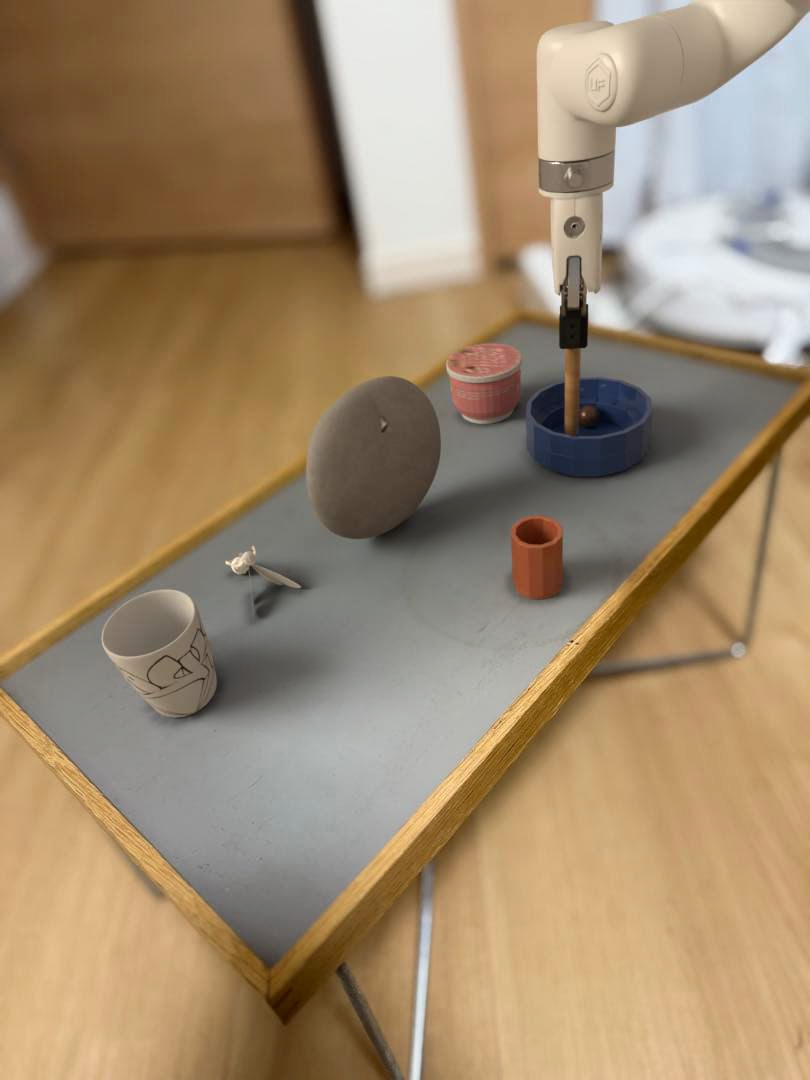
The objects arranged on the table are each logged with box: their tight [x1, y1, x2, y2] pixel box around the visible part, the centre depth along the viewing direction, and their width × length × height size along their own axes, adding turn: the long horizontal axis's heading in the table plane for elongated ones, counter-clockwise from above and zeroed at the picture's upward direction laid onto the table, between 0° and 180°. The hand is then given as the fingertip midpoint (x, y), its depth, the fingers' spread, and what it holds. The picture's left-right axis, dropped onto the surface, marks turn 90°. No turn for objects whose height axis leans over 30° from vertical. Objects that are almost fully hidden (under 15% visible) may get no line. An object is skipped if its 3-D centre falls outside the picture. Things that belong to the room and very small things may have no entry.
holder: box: [510, 515, 564, 600], centre depth 71 cm, size 5×5×7 cm
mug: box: [101, 588, 218, 719], centre depth 66 cm, size 11×8×10 cm
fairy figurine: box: [225, 545, 302, 615], centre depth 79 cm, size 6×7×7 cm
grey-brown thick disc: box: [305, 375, 442, 540], centre depth 78 cm, size 18×7×19 cm, turn 132°
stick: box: [564, 296, 582, 436], centre depth 85 cm, size 2×2×18 cm
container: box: [445, 342, 523, 425], centre depth 100 cm, size 10×10×8 cm
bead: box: [579, 405, 600, 428], centre depth 93 cm, size 3×3×3 cm
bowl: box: [525, 376, 654, 477], centre depth 90 cm, size 15×15×6 cm
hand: (573, 341), depth 83 cm, fingers closed on stick, 1 cm apart
